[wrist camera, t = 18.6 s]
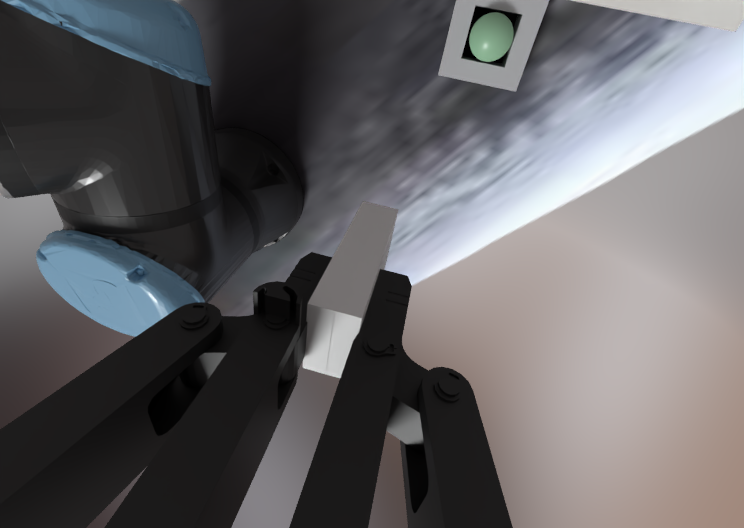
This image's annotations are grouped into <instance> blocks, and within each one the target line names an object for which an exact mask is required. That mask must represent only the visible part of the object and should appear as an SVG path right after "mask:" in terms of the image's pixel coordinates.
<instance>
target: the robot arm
mask: <svg viewBox="0 0 744 528" xmlns="http://www.w3.org/2000/svg"><path fill="white" fill-rule="evenodd" d="M209 86H211V78H210V77H209V76H208V75H207V69H206V64H205V58H204V53H203V47H202V41H201V36H200V32H199V28H198V26H197V24H196V22H195V20H194V18H193V17H192V16H191V14H190V13H189V12H188V11H187V10H186V9H185V8H184V7H182V6H181V5H180V4H178V3H176V2H175V1H173V0H0V195H1V196H3V197H6V198H17V197H25V196H32V195H40V194H51V197H52V199H53V201H54V203H55V205H56V207H57V210H58V212H59V215H60V217H61V219H62V222H63V225H64V227H63V230H61V231H55V232H52V233H50V234H49V235H48V236H47V237H46V240H45V241H43V242H42V244H41V245H40V249H39V250H38V251H37V254H36V259H37V263H38V266H39V269H40V271H41V273H42V274H43V276H44V278H45V279H46V280H47V282H48V283H49V284H50V285H51V286H52V288H53V289H54V290H55V291H56V292H57V293H58V294H59V295H60V296H61V297H63V298H64V299H65V300H66V301H67V302H68V303H69V304H71V305H72V306H74V307H75V308H76V309H77V310H79V311H80V312H82V313H83V314H85V315H87V316H88V317H90V318H91V319H93V320H95V321H96V322H98V323H100V324H102V325H104V326H107V327H109V328H111V329H113V330H116V331H119V332H121V333H124V334H127V335H131V336H135V338H133V339H132V340H130V341H129V342H127V343H126V344H124V345H123V346H122V347H120V348H119V349H117V350H116V351H114V352H113V353H111V354H110V355H108V356H107V357H106V358H104V359H103V360H101V361H100V362H98V363H97V364H95V365H94V366H93V367H91V368H90V369H88V370H87V371H85V372H84V373H82V374H81V375H79V376H78V377H76V378H75V379H73V380H72V381H70V382H69V383H68V384H66V385H65V386H63V387H62V388H61V389H59V390H57V391H56V392H54V393H53V394H52V395H50V396H49V397H47V398H46V399H44V400H43V401H41V402H40V403H38V404H37V405H35V406H34V407H33V408H31V409H30V410H28V411H27V412H25V413H24V414H23V415H21V416H20V417H18V418H17V419H15V420H14V421H12V422H11V423H9V424H8V425H6V426H5V427H3V428H2V429H0V528H86V527H87V526H88V525H89V524H90V523H91V522H92V521H93V520H94V519H95V518H96V517H97V516H98V515H99V514H100V513H101V512H102V511H103V510H104V509H105V508H106V507H107V506H108V505H109V504H110V503H111V502H112V501H113V500H114V499H115V498H116V497H117V496H118V495H119V494H120V493H121V492H122V491H123V490H124V489H125V488H126V487H127V486H128V485H129V484H130V483H131V482H132V481H133V479H135V478H136V477H137V476H138V475H139V474H140V473H141V472H142V471H143V470H144V469H145V468H146V467H147V468H146V469H145V471H144V472H143V473H142V475H141V476H140V478H139V479H138V481H137V482H136V483H135V485H134V486H133V488H132V489H131V491H130V492H129V493H128V495H127V496H126V498H125V499H124V501H123V502H122V504H121V505H120V506H119V508H118V509H117V511H116V512H115V514H114V515H113V516H112V518H111V519H110V521H109V522H108V523H107V525H106V526H105V528H231V527H232V525H233V522H234V520H235V518H236V515H237V513H238V511H239V509H240V507H241V504H242V502H243V500H244V498H245V496H246V493H247V491H248V489H249V487H250V485H251V482H252V480H253V478H254V476H255V473H256V471H257V469H258V466H259V464H260V462H261V460H262V458H263V456H264V454H265V451H266V449H267V447H268V444H269V442H270V440H271V438H272V436H273V433H274V431H275V429H276V427H277V425H278V422H279V420H280V418H281V416H282V413H283V411H284V409H285V407H286V405H287V402H288V400H289V398H290V396H291V393H292V391H293V389H294V387H295V385H296V381H297V376H298V369H299V367H300V365H301V363H302V361H303V368H306V369H309V370H313V371H316V372H320V373H323V374H327V375H330V376H334V377H337V378H340V381H339V384H338V387H337V390H336V393H335V396H334V398H333V402H332V404H331V407H330V410H329V413H328V416H327V419H326V422H325V425H324V428H323V431H322V434H321V436H320V440H319V442H318V445H317V448H316V451H315V454H314V457H313V460H312V463H311V466H310V469H309V472H308V475H307V478H306V481H305V483H304V486H303V490H302V492H301V495H300V498H299V501H298V504H297V507H296V510H295V513H294V515H293V519H292V522H291V524H290V527H289V528H368V525H369V519H370V514H371V509H372V503H373V498H374V492H375V487H376V482H377V476H378V471H379V466H380V461H381V455H382V450H383V445H384V439H385V434H386V431H388V432H390V433H391V434H393V435H394V436H395V437H397V438H398V439H400V444H401V455H402V466H403V477H404V487H405V499H406V510H407V520H408V528H513V527H512V524H511V521H510V517H509V513H508V510H507V507H506V503H505V500H504V496H503V493H502V489H501V486H500V482H499V479H498V475H497V472H496V468H495V465H494V462H493V458H492V455H491V451H490V448H489V444H488V441H487V437H486V434H485V431H484V427H483V423H482V420H481V417H480V413H479V410H478V406H477V403H476V399H475V396H474V393H473V390H472V388H471V386H470V384H469V382H468V381H467V380H466V379H465V378H464V377H463V376H462V375H461V374H460V373H458V372H456V371H454V370H453V369H449V368H445V367H437V368H433V369H431V370H429V371H428V370H426V369H424V368H423V367H421V366H420V365H418V364H417V363H415V362H414V361H412V360H411V359H410V358H409V357H408V356H407V354H406V353H405V351H404V349H403V346H402V335H403V330H404V324H405V319H406V314H407V308H408V303H409V297H410V292H411V287H412V286H411V284H410V281H409V278H408V276H406V275H402V274H398V273H394V272H390V271H386V270H384V268H385V265H386V261H387V257H388V252H389V248H390V244H391V239H392V235H393V230H394V226H395V222H396V217H397V213H398V209H394V208H390V207H386V206H381V205H377V204H373V203H369V202H365V201H363V202H362V204H361V206H360V208H359V209H358V211H357V213H356V215H355V217H354V219H353V221H352V222H351V224H350V226H349V228H348V230H347V232H346V233H345V235H344V237H343V239H342V241H341V243H340V245H339V246H338V248H337V250H336V252H335V254H334V256H333V257H328V256H324V255H320V254H316V253H312V252H311V253H310V254H308V255H306V256H305V257H303V258H301V259H300V261H299V262H298V264H297V265H296V267H295V269H294V270H293V271H292V273H291V274H290V277H288V279H287V280H286V282H269V283H265V284H263V285H261V286H259V287H257V288H256V289H255V290H254V291H253V303H254V314H253V315H250V316H241V317H235V316H221V313H220V310H219V309H218V308H217V307H215V306H214V305H212V304H208V303H209V302H210V301H211V299H212V298H213V297H214V296H215V295H216V294H217V293H218V291H219V290H220V289H221V288H222V287H223V286H224V285H225V283H226V282H227V281H228V280H229V279H230V278H231V277H232V275H233V274H234V273H235V272H236V271H237V270H238V269H239V268H240V266H241V265H242V264H243V263H244V262H245V261H246V260H247V258H248V257H249V256H250V255H251V254H252V253H253V252H256V251H258V250H260V249H262V248H263V247H266V246H269V245H272V244H275V243H277V242H278V241H280V240H281V239H283V238H284V237H285V236H286V235H287V234H288V233H289V232H290V231H291V230H292V228H293V227H294V226H295V225H296V223H297V222H298V220H299V218H300V215H301V212H302V208H303V191H302V186H301V183H300V180H299V177H298V175H297V172H296V170H295V168H294V167H293V165H292V164H291V162H290V161H289V159H288V158H287V157H286V155H285V154H284V153H283V152H282V151H281V150H280V149H279V148H278V147H277V146H276V145H274V144H273V143H272V142H271V141H269V140H268V139H266V138H264V137H263V136H261V135H259V134H257V133H255V132H252V131H249V130H245V129H241V128H223V129H219V130H216V131H215V130H214V122H213V115H212V107H211V99H210V90H209Z"/></svg>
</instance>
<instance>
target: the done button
mask: <svg viewBox="0 0 744 528" xmlns="http://www.w3.org/2000/svg"><path fill="white" fill-rule="evenodd" d="M513 33H514V32H513V26H512V23H511V21H510V20H509V18H508V17H507V16H505V15H504V14H502V13H497V12H493V13H488V14H485V15H483V16H482V17H480V18H479V19H478V20H477V21H476V22H475V24H474V25H473V27H472V29H471V32H470V36H469V44H470V48H471V51H472V53H473V54H474V56H475V57H476V58H478V59H479V60H481V61H485V62H491V61H495V60H497V59H499V58H501V57H502V56H503V55H504V54H505V53H506V52H507V51H508V49H509V48H510V46H511V43H512V40H513Z"/></svg>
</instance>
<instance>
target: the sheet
mask: <svg viewBox="0 0 744 528" xmlns="http://www.w3.org/2000/svg"><path fill="white" fill-rule="evenodd" d="M571 1H576V2H581V3H586V4H591V5H597V6H602V7H607V8H612V9H617V10H623V11H628V12H633V13H638V14H643V15H648V16H654V17H659V18H664V19H669V20H674V21H680V22H685V23H690V24H695V25H700V26H706V27H711V28H716V29H721V30H726V31H733V32H736V30H737V29H738V27H739V26H740V24H741V22H742V21H743V19H744V0H571Z"/></svg>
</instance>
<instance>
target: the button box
mask: <svg viewBox="0 0 744 528" xmlns="http://www.w3.org/2000/svg"><path fill="white" fill-rule="evenodd" d="M548 2H549V0H456V4H455V8H454V12H453V16H452V20H451V24H450V28H449V32H448V37H447V41H446V45H445V49H444V53H443V57H442V61H441V65H440V69H439V74H438V75H440V76H445V77H450V78H455V79H459V80H464V81H469V82H473V83H478V84H483V85H487V86H492V87H497V88H501V89H506V90H511V91H515V92H516V90H517V87H518V84H519V81H520V79H521V76H522V73H523V70H524V68H525V65H526V62H527V60H528V57H529V54H530V51H531V49H532V46H533V43H534V41H535V38H536V35H537V32H538V30H539V27H540V24H541V22H542V19H543V16H544V13H545V11H546V8H547V5H548ZM475 6H476V7H481V8H486V9H492V10H497V11H502V12H507V13H512V14H517V15H518V16H517V19H516V22H515V25H514V28H513V32H514V33H513V40H512V43H511V46H510V48H509V49H508V51H507V52H506V53H505V55H504V58H503V61H502V64H499V63H495V62H485V61H481V60H479V59H475V58H471V57H466V56H462V54H463V50H464V46H465V42H466V39H467V35H468V31H469V28H470V24H471V20H472V17H473V13H474V9H475Z"/></svg>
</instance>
